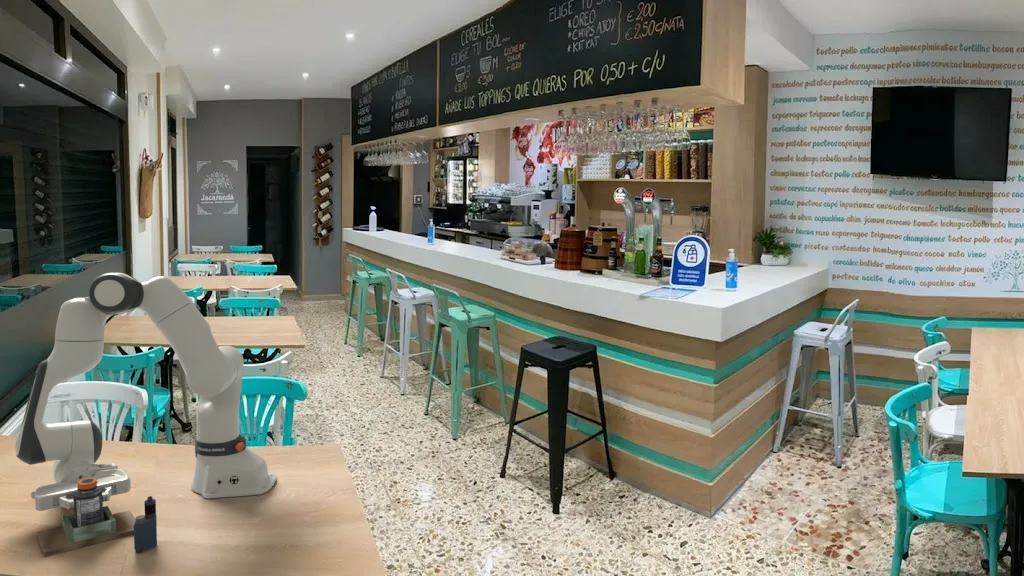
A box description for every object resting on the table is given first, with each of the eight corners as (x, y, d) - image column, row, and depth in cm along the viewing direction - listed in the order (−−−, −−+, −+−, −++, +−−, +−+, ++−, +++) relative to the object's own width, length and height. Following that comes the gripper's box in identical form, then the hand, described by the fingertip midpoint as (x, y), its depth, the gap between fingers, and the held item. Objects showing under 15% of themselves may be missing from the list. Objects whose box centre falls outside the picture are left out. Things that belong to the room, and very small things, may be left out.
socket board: (130, 513, 180) (129, 499, 179) (141, 532, 171) (140, 516, 170) (36, 535, 167) (35, 519, 166) (43, 556, 158) (42, 539, 157)
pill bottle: (82, 519, 171) (80, 475, 170) (108, 519, 172) (106, 475, 170) (69, 531, 165) (67, 485, 164) (95, 530, 166) (94, 485, 164)
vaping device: (159, 544, 165) (158, 496, 163) (139, 554, 160) (138, 505, 159) (152, 542, 166) (150, 494, 165) (132, 551, 161) (130, 502, 160)
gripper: (28, 479, 170) (35, 500, 160) (123, 462, 183) (135, 479, 173) (30, 504, 171) (37, 526, 161) (123, 484, 184) (136, 503, 174)
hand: (88, 502), depth 167 cm, fingers closed on pill bottle, 6 cm apart
